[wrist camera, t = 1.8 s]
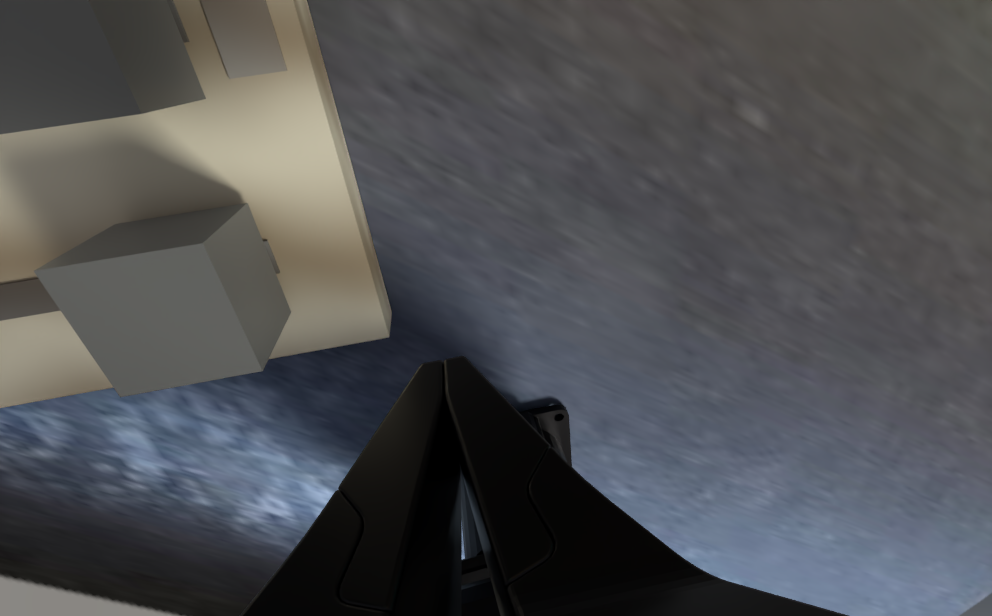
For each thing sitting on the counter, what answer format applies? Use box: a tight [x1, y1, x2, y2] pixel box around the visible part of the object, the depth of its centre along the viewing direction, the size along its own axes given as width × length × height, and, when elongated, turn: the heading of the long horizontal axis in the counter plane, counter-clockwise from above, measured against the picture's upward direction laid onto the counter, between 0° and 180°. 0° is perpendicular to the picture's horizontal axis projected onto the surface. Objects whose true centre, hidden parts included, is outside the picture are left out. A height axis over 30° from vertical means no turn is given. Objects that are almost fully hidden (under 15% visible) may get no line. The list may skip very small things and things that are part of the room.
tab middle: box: [0, 0, 206, 134], centre depth 10 cm, size 4×4×4 cm
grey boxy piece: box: [34, 203, 291, 397], centre depth 14 cm, size 4×4×4 cm
